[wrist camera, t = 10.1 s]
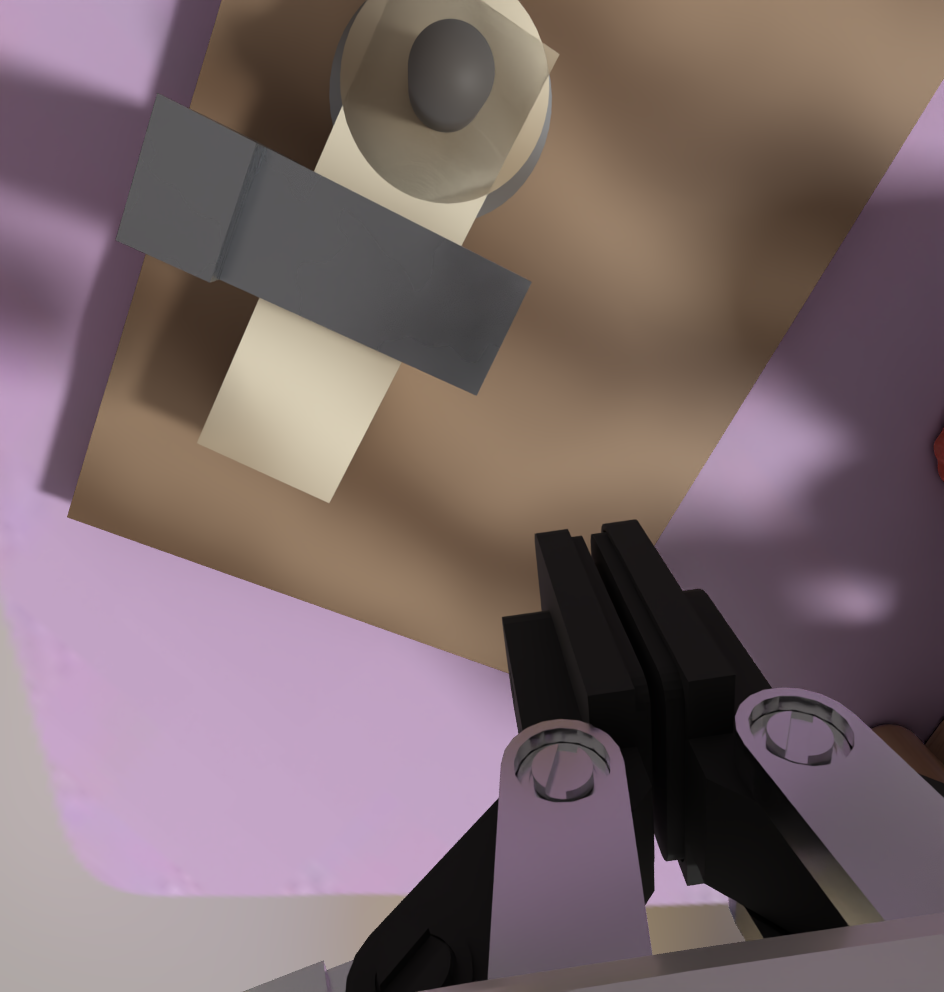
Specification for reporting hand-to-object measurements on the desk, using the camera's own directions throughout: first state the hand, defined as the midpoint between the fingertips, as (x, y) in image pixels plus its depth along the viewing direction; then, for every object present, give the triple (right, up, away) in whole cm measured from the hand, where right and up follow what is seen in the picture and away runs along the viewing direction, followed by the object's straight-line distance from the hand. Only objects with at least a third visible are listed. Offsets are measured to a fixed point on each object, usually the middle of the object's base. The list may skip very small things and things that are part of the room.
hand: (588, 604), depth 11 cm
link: (-5, +9, +8) cm, 13 cm away
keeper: (-5, +9, +9) cm, 13 cm away
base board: (-1, +9, +10) cm, 14 cm away
